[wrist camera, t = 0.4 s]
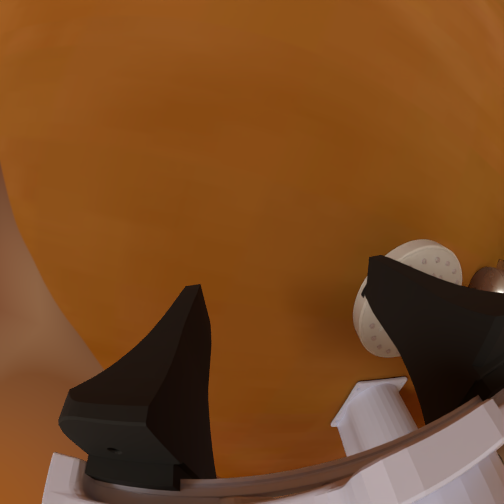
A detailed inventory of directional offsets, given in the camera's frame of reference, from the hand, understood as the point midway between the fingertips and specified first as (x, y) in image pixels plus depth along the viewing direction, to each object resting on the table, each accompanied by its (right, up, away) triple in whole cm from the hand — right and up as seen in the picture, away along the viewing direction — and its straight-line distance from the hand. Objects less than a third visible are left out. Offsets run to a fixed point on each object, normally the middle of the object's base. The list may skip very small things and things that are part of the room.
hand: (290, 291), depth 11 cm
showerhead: (+10, 0, +12) cm, 15 cm away
